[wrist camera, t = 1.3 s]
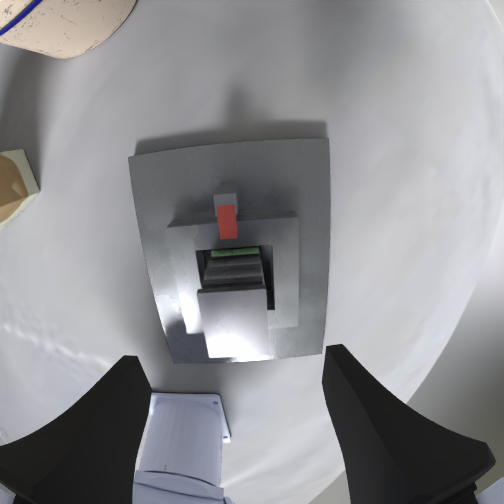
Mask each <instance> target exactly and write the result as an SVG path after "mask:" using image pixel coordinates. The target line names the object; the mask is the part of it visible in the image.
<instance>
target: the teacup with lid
mask: <svg viewBox="0 0 504 504" xmlns="http://www.w3.org/2000/svg"><path fill="white" fill-rule="evenodd" d="M135 2H136V0H0V43H3V44H7V45H11V46H15V47H19V48H23V49H27V50H30V51H34V52H37V53H41V54H44V55H48V56H51V57H54V58H60V59H66V58H72V57H76V56H79V55H81V54H84V53H86V52H88V51H90V50H92V49H93V48H95V47H96V46H98V45H99V44H101V43H102V42H104V41H105V40H106V39H107V38H108V37H110V36H111V35H112V34H113V33H114V32H115V31H116V30H117V29H118V28H119V27H120V25H121V24H122V23H123V22H124V21H125V19H126V18H127V16H128V15H129V13H130V12H131V10H132V8H133V6H134V4H135Z"/></svg>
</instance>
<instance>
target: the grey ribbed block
mask: <svg viewBox="0 0 504 504" xmlns="http://www.w3.org/2000/svg"><path fill="white" fill-rule="evenodd" d="M208 261H209V262H208V265H207V268H206V271H205V272H206V273H205V276H204V280H203V282H202V288H201V289H198V290H197V293H196V294H197V299H198V304H199V309H200V314H201V320H202V324H203V329H204V334H205V339H206V343H207V348H208V353H209V357H210V358H213V357H237V356H253V355H266V354H269V335H268V315H267V295H266V284H265V282H264V275H263V269H262V262H261V255H260V248H258V246H247V247H234V248H221V249H212V250H211V254H210V257H209V260H208Z"/></svg>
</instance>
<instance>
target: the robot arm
mask: <svg viewBox="0 0 504 504" xmlns="http://www.w3.org/2000/svg"><path fill="white" fill-rule="evenodd" d="M322 385H323V391H324V396H325V400H326V405H327V408H328V411H329V414H330V417H331V420H332V423H333V426H334V429H335V432H336V435H337V438H338V441H339V444H340V447H341V451H342V454H343V458H344V463H345V468H346V474H347V480H348V486H349V492H350V500H351V504H504V477H502V478H501V479H499V480H498V481H497V482H495V483H494V484H493V485H492V486H490V487H489V488H487V489H486V490H484V491H483V492H481V493H480V494H478V495H477V496H475V495H474V491H475V490H476V489H477V487H476V484H475V481H476V480H478V479H479V478H480V477H481V476H483V475H484V474H485V473H486V472H488V471H489V470H490V469H491V468H492V467H493V466H494V465H495V462H496V460H495V458H494V456H493V454H492V452H491V450H490V448H489V447H488V445H487V444H486V443H485V442H482V441H478V440H475V439H472V438H469V437H466V436H463V435H460V434H458V433H455V432H453V431H451V430H448V429H446V428H444V427H442V426H440V425H438V424H436V423H435V422H433V421H431V420H429V419H427V418H426V417H424V416H422V415H421V414H419V413H418V412H416V411H414V410H413V409H412V408H410V407H409V406H407V405H406V404H405V403H403V402H402V401H401V400H399V399H398V398H397V397H396V396H394V395H393V394H392V393H391V392H390V391H389V390H387V389H386V388H385V387H384V386H383V385H382V384H381V383H380V382H379V381H377V380H376V379H375V378H374V377H373V376H372V375H371V374H370V373H369V372H368V371H367V370H366V369H365V368H364V367H363V366H362V365H361V364H360V363H359V361H358V360H357V359H356V358H355V357H354V356H353V355H352V354H351V353H350V352H349V351H348V350H347V348H346V347H345V346H344V345H343V344H338V345H331V346H326V353H325V362H324V369H323V377H322ZM149 412H150V414H151V416H152V417H151V421H150V425H149V429H148V433H147V437H146V441H145V445H144V449H143V454H142V458H141V462H140V467H139V470H136V473H135V478H134V471H135V463H136V458H137V454H138V450H139V446H140V442H141V439H142V435H143V432H144V428H145V425H146V421H147V417H148V414H149ZM229 442H231V437H230V433H229V430H228V426H227V422H226V419H225V415H224V411H223V407H222V403H221V399H220V396H219V395H217V394H171V393H152V388H151V386H150V384H149V382H148V380H147V377H146V375H145V373H144V371H143V368H142V366H141V364H140V361H139V359H138V357H137V356H127V355H124V356H123V357H122V358H121V359H120V360H119V361H118V362H117V363H116V364H115V365H114V366H113V367H112V368H111V369H110V370H109V371H108V372H107V373H106V374H105V375H104V376H103V377H102V378H101V379H100V380H99V381H98V382H97V383H96V384H95V385H94V386H93V387H92V388H91V389H90V390H89V391H88V392H87V393H86V394H85V395H83V396H82V397H81V398H80V399H79V400H78V401H77V402H76V403H75V404H74V405H72V406H71V407H70V408H69V409H68V410H66V411H65V412H64V413H63V414H61V415H60V416H59V417H57V418H56V419H54V420H53V421H51V422H50V423H48V424H47V425H45V426H43V427H42V428H40V429H39V430H37V431H35V432H33V433H31V434H29V435H28V436H25V437H23V438H21V439H19V440H17V441H14V442H11V443H9V444H6V445H3V446H0V483H2V484H3V485H4V486H5V487H7V488H8V489H9V490H11V491H12V492H14V493H15V494H16V496H15V498H13V497H12V496H10V495H9V494H7V493H6V492H4V491H3V490H1V489H0V504H234V503H233V502H232V500H231V499H230V498H229V497H224V496H223V492H224V488H220V487H219V486H220V483H221V464H222V443H229Z"/></svg>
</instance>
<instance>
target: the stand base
mask: <svg viewBox="0 0 504 504" xmlns="http://www.w3.org/2000/svg"><path fill="white" fill-rule="evenodd" d="M128 161H129V169H130V177H131V184H132V191H133V197H134V203H135V209H136V215H137V221H138V226H139V231H140V237H141V242H142V246H143V251H144V256H145V260H146V265H147V269H148V273H149V278H150V282H151V286H152V290H153V294H154V298H155V301H156V305H157V309H158V312H159V316H160V320H161V323H162V327H163V330H164V333H165V337H166V340H167V343H168V346H169V349H170V353H171V356H172V359H173V362H174V363H223V362H244V361H259V360H271V359H282V358H292V357H301V356H309V355H317V354H322V349H323V339H324V328H325V317H326V304H327V289H328V272H329V247H330V156H329V139H277V140H258V141H243V142H231V143H220V144H211V145H202V146H194V147H186V148H179V149H172V150H165V151H159V152H153V153H147V154H142V155H136V156H131V157H128ZM260 245H270V266H271V288H272V290H271V291H266V295H267V315H268V335H269V354H266V355H253V356H237V357H213V358H210V357H209V353H208V348H207V343H206V339H205V334H204V329H203V324H202V320H201V314H200V309H199V304H198V299H197V294H196V293H197V290H198V289H201V288H202V282H203V280H204V276H205V273H206V272H205V271H206V267H205V260H204V253H203V250H208V249H221V248H234V247H247V246H260Z"/></svg>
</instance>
